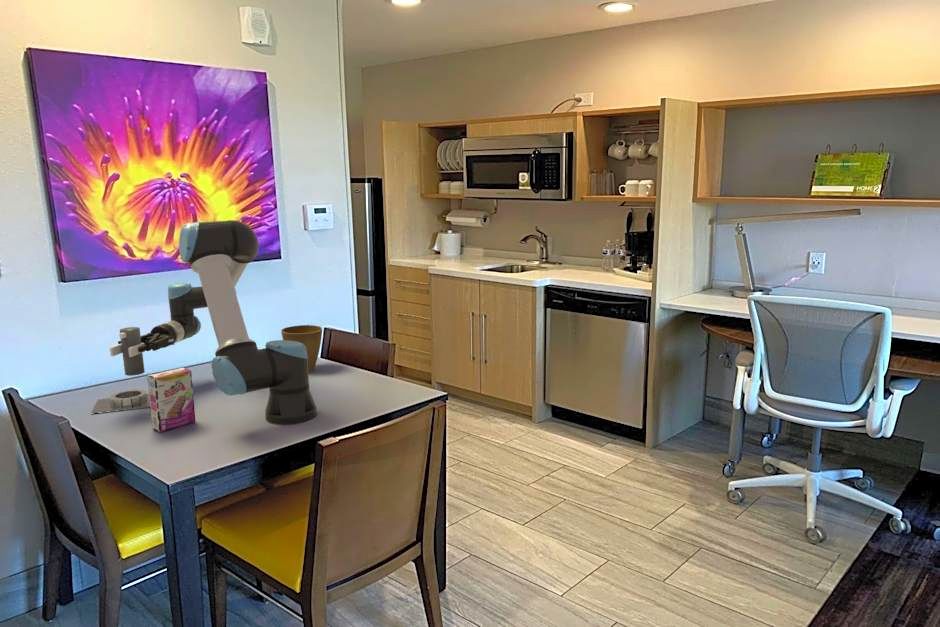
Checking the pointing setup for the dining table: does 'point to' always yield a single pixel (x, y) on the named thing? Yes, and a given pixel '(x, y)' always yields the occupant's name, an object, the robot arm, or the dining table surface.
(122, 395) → the well
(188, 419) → the candy bar box
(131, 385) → the dining table surface
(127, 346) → the grey tall cylinder
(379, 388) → the dining table surface
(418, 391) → the dining table surface
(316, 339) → the plant pot
